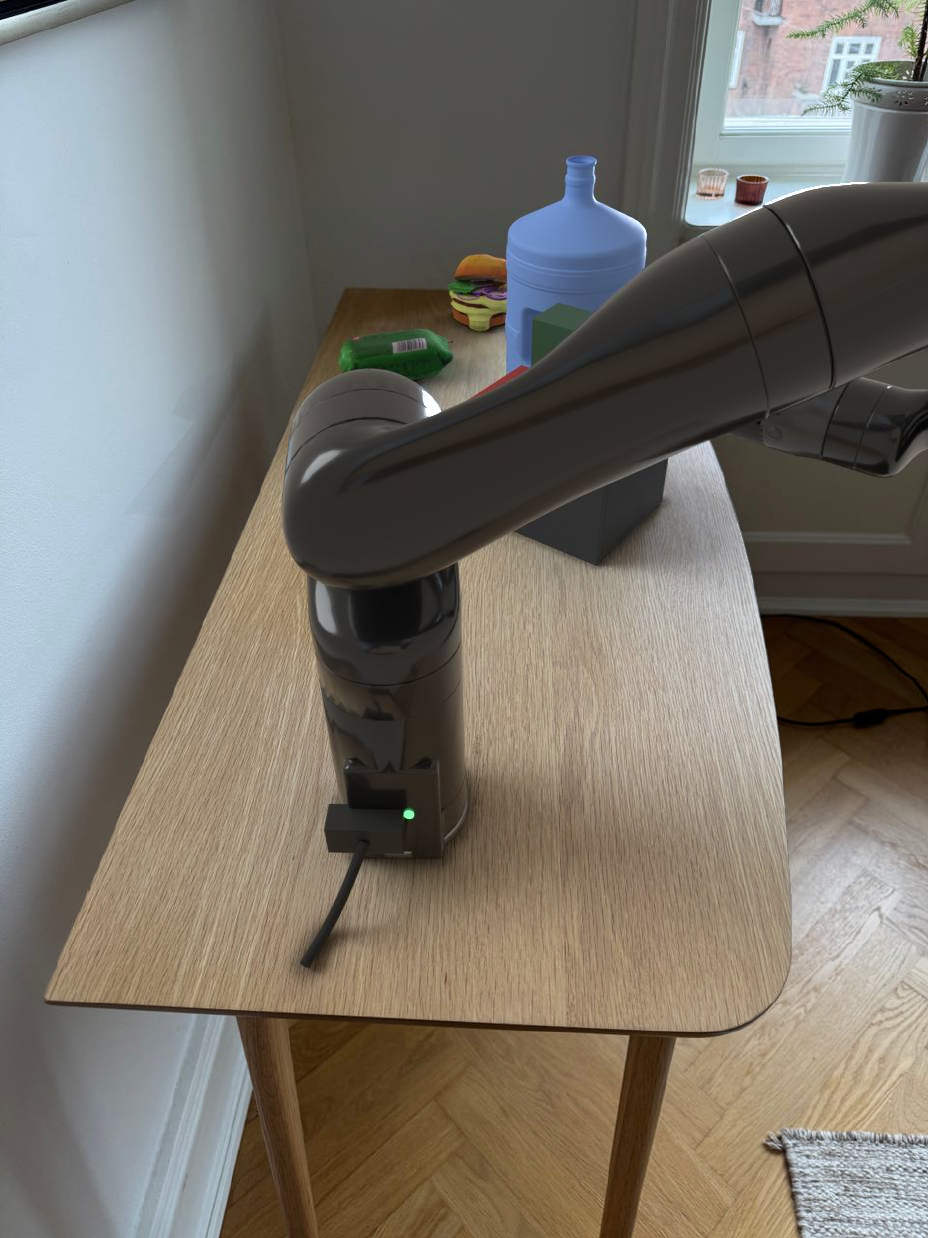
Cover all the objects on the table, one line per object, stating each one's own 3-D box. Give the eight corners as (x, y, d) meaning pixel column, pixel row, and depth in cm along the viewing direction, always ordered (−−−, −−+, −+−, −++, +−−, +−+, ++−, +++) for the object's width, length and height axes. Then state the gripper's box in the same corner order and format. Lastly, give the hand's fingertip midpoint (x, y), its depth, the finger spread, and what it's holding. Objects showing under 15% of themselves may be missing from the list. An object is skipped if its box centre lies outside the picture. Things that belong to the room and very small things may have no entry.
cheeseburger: (442, 331, 131) (442, 256, 126) (455, 319, 140) (455, 249, 136) (512, 333, 129) (515, 258, 125) (521, 321, 139) (523, 250, 134)
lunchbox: (453, 506, 98) (451, 424, 91) (525, 452, 106) (528, 373, 99) (596, 565, 89) (604, 480, 83) (662, 502, 98) (674, 419, 91)
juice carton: (576, 432, 88) (583, 332, 81) (529, 415, 91) (531, 318, 84) (600, 413, 91) (609, 315, 84) (553, 398, 93) (558, 302, 87)
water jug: (487, 383, 119) (486, 148, 100) (598, 365, 122) (617, 134, 104) (530, 442, 107) (539, 188, 89) (651, 419, 111) (683, 171, 92)
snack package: (461, 380, 120) (460, 342, 116) (342, 395, 117) (338, 357, 113) (448, 357, 125) (447, 320, 122) (334, 371, 122) (330, 334, 119)
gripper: (828, 330, 77) (657, 288, 85) (760, 395, 69) (576, 343, 76) (808, 410, 82) (647, 364, 90) (741, 480, 74) (570, 423, 81)
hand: (615, 354), depth 83 cm, fingers open, 8 cm apart
